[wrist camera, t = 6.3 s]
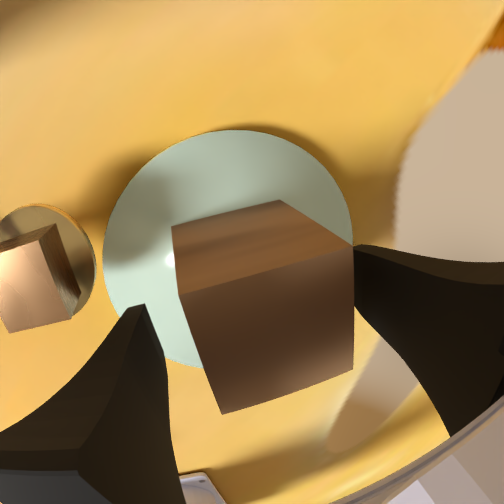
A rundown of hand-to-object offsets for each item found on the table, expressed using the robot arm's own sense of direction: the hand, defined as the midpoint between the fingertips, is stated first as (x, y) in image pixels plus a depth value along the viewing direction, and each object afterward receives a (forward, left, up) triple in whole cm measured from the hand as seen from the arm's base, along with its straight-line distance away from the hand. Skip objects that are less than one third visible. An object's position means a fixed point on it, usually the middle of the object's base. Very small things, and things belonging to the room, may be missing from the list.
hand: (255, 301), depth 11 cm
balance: (+3, +14, -4) cm, 14 cm away
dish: (0, 0, -4) cm, 4 cm away
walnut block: (0, 0, -3) cm, 3 cm away
